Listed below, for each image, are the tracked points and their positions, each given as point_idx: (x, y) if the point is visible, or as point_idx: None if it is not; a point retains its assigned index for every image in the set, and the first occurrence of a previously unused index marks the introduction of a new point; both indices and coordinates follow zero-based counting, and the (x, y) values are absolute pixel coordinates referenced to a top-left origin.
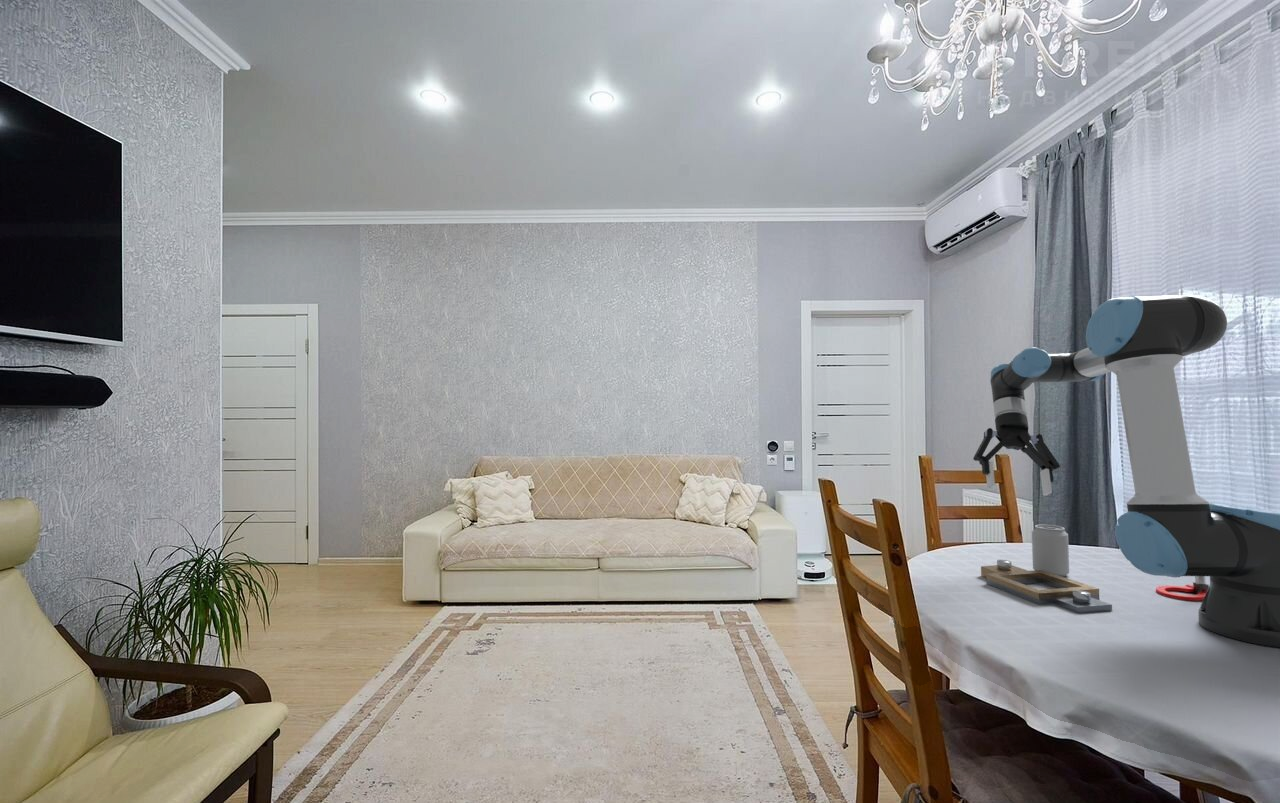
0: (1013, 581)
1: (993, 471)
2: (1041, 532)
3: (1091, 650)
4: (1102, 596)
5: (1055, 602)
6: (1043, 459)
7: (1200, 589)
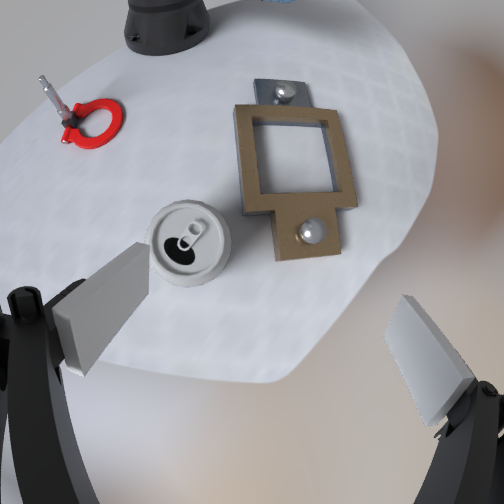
0: (339, 160)
1: (433, 335)
2: (224, 228)
3: (348, 41)
4: (214, 125)
5: None
6: (23, 372)
7: (76, 116)
